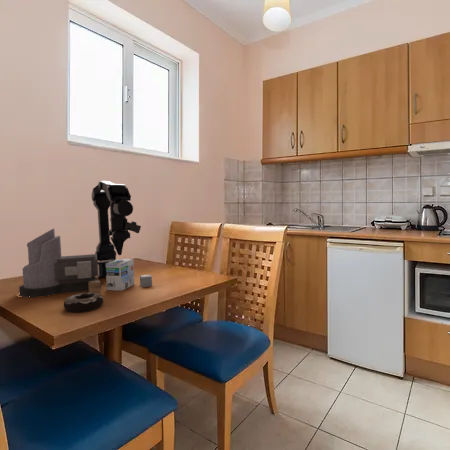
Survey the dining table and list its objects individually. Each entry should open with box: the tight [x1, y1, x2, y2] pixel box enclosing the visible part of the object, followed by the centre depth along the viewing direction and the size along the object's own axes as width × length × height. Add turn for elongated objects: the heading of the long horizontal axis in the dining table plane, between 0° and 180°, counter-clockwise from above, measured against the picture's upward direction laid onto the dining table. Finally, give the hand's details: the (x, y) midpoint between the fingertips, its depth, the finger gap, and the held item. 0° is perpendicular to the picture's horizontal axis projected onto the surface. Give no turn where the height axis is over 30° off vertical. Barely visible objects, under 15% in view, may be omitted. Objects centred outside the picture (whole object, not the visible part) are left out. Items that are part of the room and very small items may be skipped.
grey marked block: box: [139, 274, 153, 288], centre depth 130 cm, size 4×4×4 cm
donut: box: [63, 291, 104, 313], centre depth 103 cm, size 12×12×4 cm
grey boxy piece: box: [18, 227, 102, 298], centre depth 126 cm, size 30×16×24 cm, turn 111°
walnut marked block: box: [88, 279, 101, 294], centre depth 122 cm, size 4×4×4 cm
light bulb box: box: [105, 258, 135, 292], centre depth 128 cm, size 11×7×11 cm, turn 168°
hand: (119, 255), depth 127 cm, fingers closed
